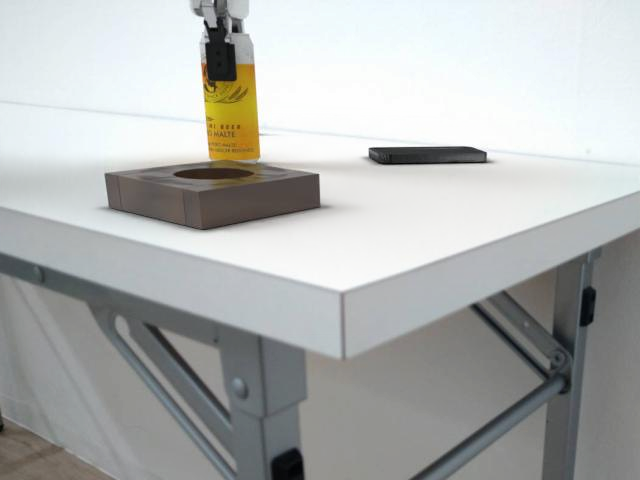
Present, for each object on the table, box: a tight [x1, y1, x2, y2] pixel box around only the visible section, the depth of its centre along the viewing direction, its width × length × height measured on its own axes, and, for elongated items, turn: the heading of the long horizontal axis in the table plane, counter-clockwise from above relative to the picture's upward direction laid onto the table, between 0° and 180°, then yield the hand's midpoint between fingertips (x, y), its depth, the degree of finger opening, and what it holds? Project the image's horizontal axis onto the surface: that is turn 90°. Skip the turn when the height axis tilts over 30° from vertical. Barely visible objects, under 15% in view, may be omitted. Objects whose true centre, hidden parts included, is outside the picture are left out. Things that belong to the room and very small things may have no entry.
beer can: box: [198, 31, 261, 164], centre depth 89 cm, size 6×6×15 cm
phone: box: [368, 145, 488, 164], centre depth 100 cm, size 8×1×15 cm
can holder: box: [104, 159, 321, 230], centre depth 66 cm, size 13×13×3 cm
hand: (229, 78), depth 88 cm, fingers closed on beer can, 6 cm apart
